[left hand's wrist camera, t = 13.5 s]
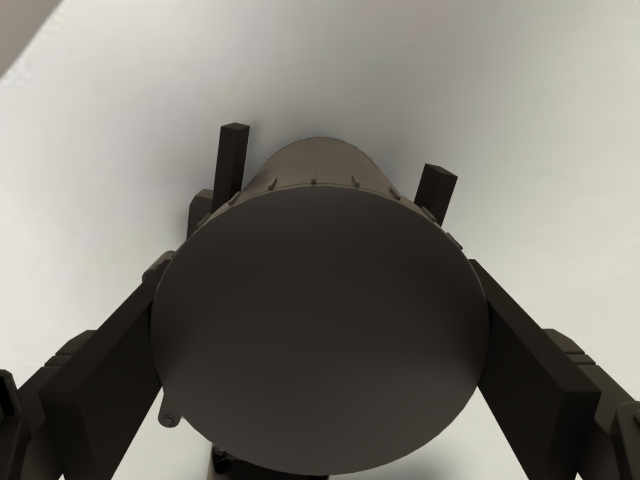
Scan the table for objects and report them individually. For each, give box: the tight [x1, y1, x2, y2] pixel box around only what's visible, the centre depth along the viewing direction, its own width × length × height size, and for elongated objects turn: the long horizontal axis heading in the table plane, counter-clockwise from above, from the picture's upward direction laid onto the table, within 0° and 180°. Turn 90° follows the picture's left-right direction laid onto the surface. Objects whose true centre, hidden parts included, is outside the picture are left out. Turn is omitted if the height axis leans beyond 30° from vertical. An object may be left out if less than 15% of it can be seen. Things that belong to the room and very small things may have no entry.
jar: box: [241, 137, 400, 194], centre depth 18 cm, size 9×9×15 cm
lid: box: [150, 171, 490, 475], centre depth 12 cm, size 10×10×2 cm
